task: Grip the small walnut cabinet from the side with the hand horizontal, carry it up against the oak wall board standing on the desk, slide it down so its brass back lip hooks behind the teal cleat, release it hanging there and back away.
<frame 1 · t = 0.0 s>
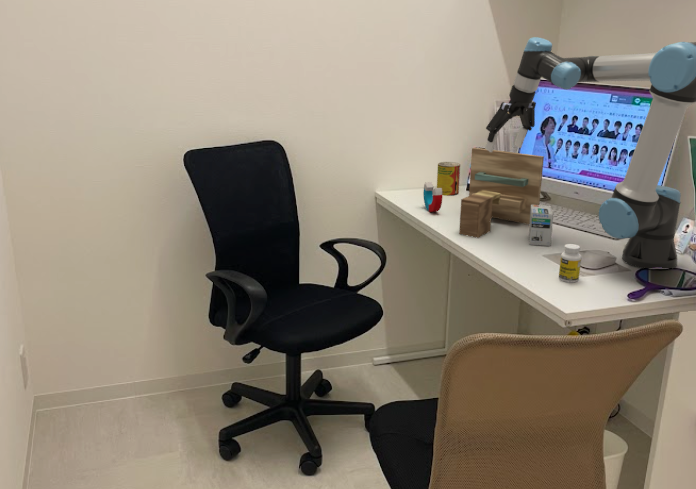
hand: (503, 148, 231), 28 cm above the table, tool tilted 20°, fingers open, 13 cm apart
magnet: (431, 211, 261), on the table
beverage can: (447, 193, 287), on the table
light bulb box: (538, 241, 228), on the table
wall board: (500, 218, 251), on the table
cabinet: (474, 232, 236), on the table
supplement bottle: (568, 280, 195), on the table
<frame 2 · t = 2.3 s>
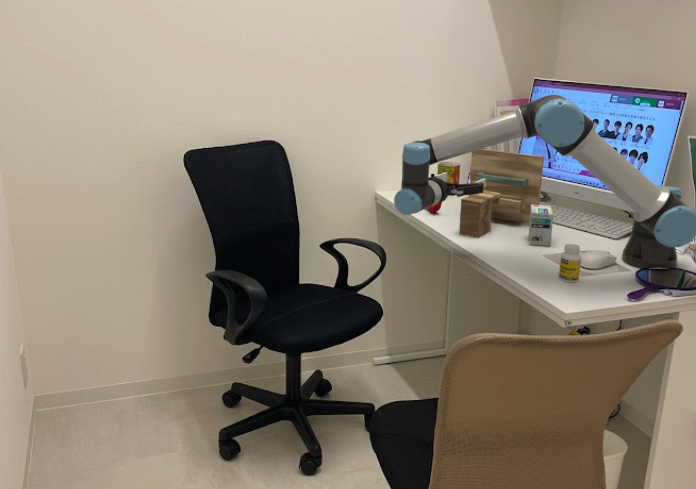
hand: (465, 179, 222), 20 cm above the table, tool horizontal, fingers open, 13 cm apart
nothing on the table moved.
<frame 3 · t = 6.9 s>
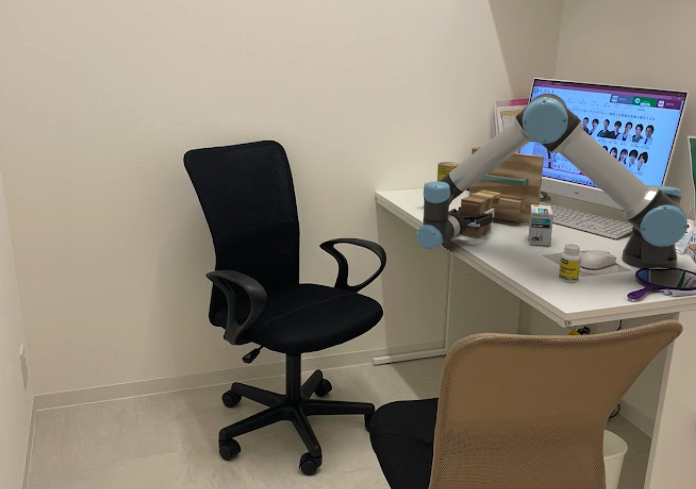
hand: (482, 210, 237), 7 cm above the table, tool horizontal, fingers closed on cabinet, 7 cm apart
cabinet: (474, 232, 236), on the table, touching gripper
everything else where it was.
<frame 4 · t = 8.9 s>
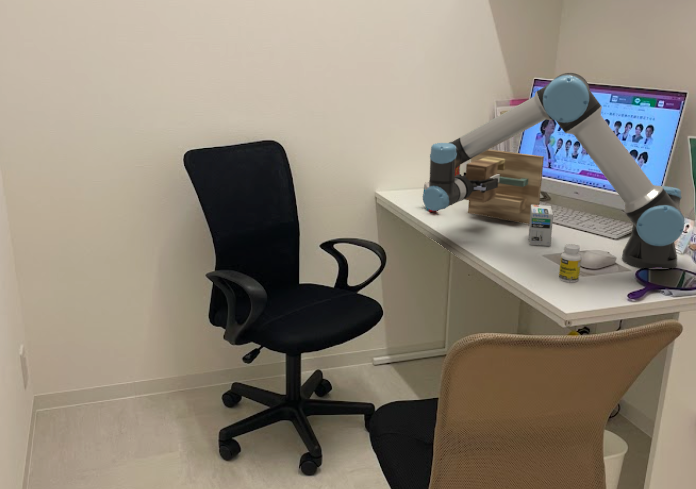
hand: (487, 176, 236), 18 cm above the table, tool horizontal, fingers closed on cabinet, 7 cm apart
cabinet: (480, 198, 235), point 11 cm above the table, touching gripper
everything else where it was.
when the fingers open (13 cm above the table, at t = 11.4 s): cabinet drops 1 cm, resting on wall board.
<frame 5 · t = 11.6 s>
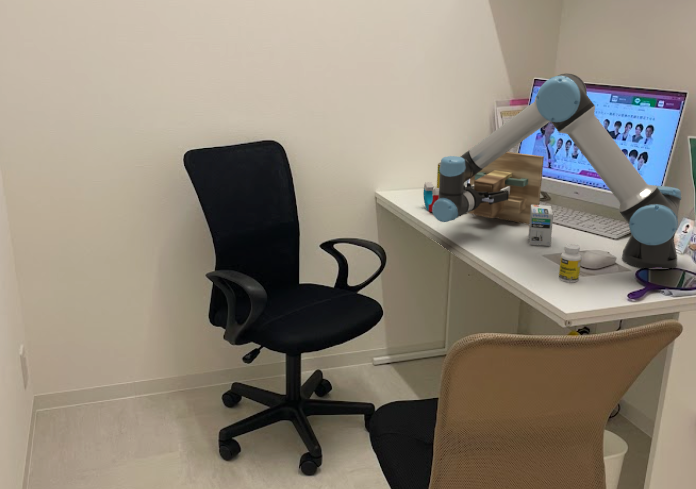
hand: (494, 188, 242), 13 cm above the table, tool horizontal, fingers open, 10 cm apart
cabinet: (488, 212, 242), point 5 cm above the table, touching wall board
everything else where it was.
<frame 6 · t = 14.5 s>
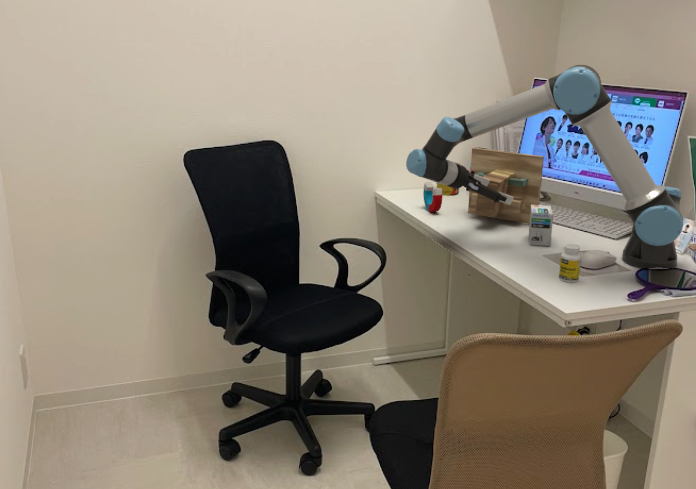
hand: (499, 192, 227), 15 cm above the table, tool tilted 70°, fingers open, 13 cm apart
cabinet: (489, 211, 241), point 5 cm above the table, touching gripper, wall board
everything else where it was.
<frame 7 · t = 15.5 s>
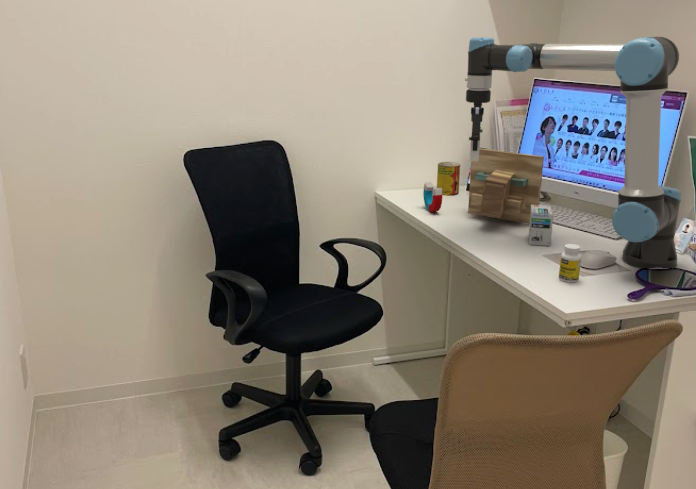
hand: (474, 156, 224), 26 cm above the table, tool pointing down, fingers open, 13 cm apart
cabinet: (492, 212, 240), point 5 cm above the table, tilted 5°, touching wall board
everything else where it was.
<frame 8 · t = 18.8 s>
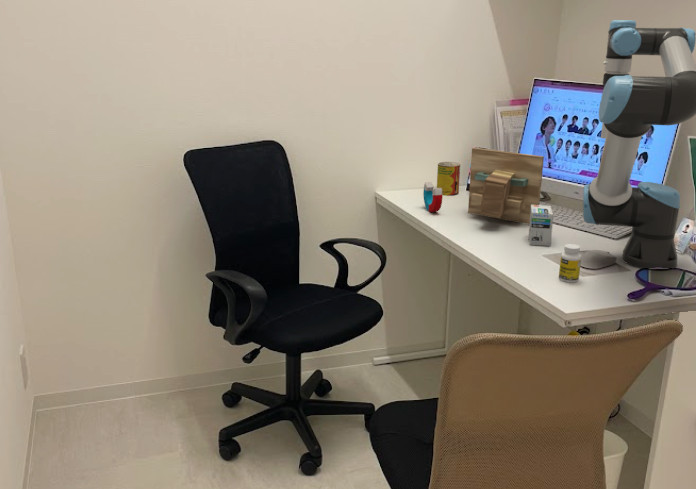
hand: (608, 141, 222), 32 cm above the table, tool pointing down, fingers open, 13 cm apart
nothing on the table moved.
at the end: cabinet inside the target area (1.8 cm from its centre), point 5.4 cm above the table; cabinet touching wall board; the gripper is holding nothing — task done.
